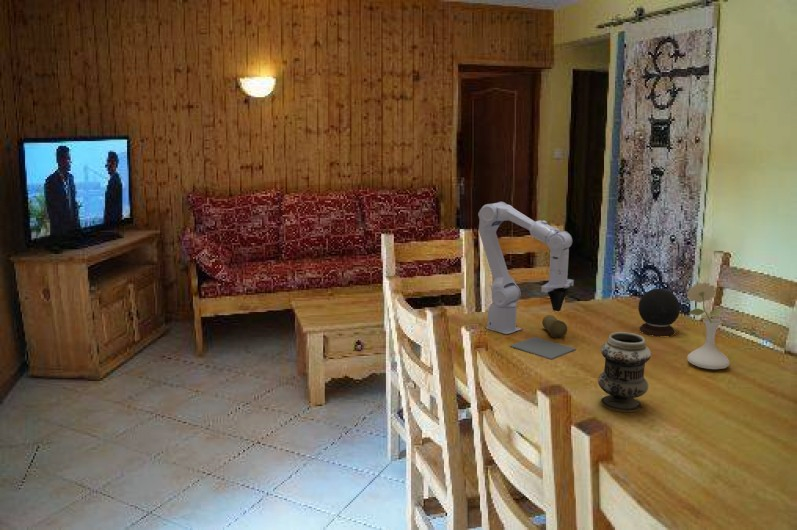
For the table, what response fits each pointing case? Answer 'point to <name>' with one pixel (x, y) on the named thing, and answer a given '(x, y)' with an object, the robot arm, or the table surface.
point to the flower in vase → (707, 331)
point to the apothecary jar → (624, 371)
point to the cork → (554, 326)
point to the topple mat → (542, 348)
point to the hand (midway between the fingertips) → (556, 310)
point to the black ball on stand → (658, 312)
